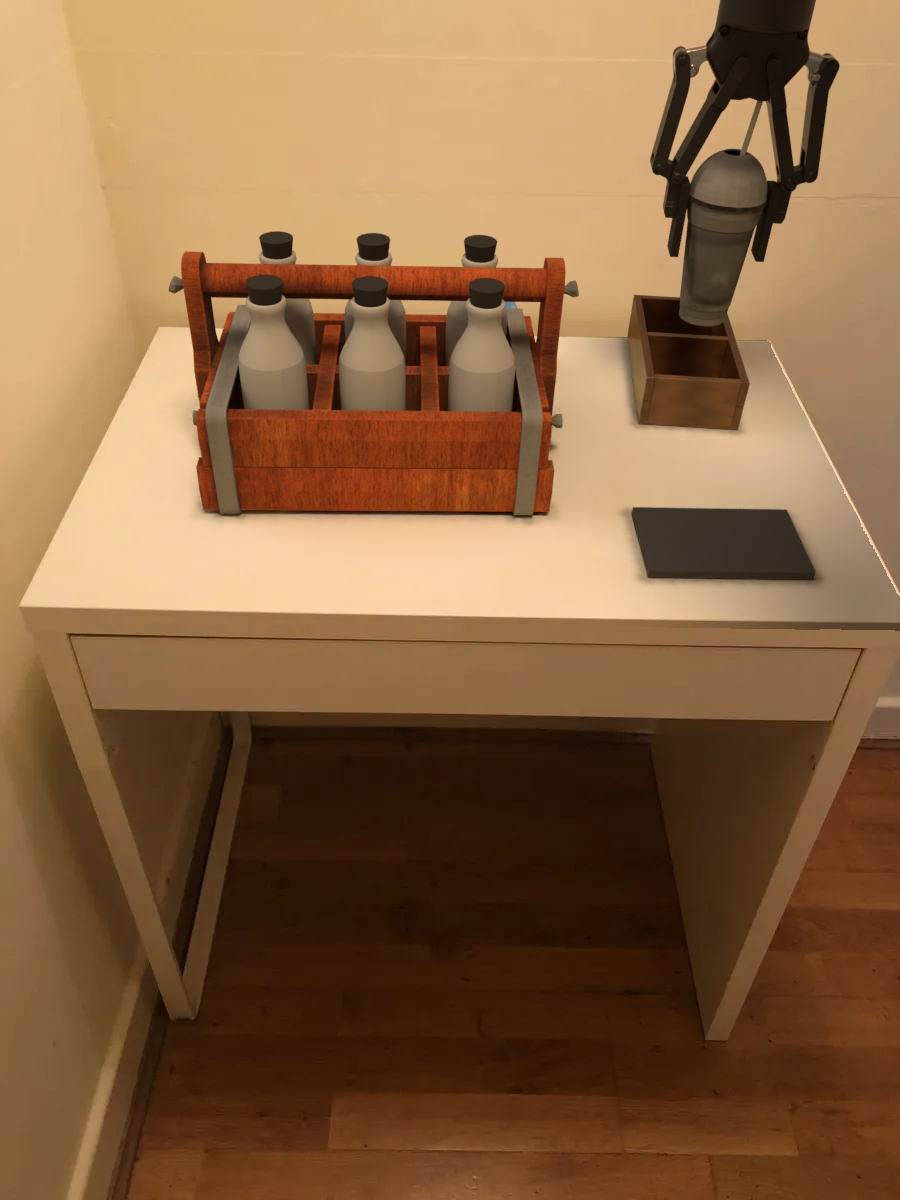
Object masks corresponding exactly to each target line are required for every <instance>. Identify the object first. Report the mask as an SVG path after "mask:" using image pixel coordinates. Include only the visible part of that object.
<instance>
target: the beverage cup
mask: <svg viewBox="0 0 900 1200" xmlns="http://www.w3.org/2000/svg"><path fill="white" fill-rule="evenodd" d="M763 102H764V101H757V100H756V103H755V106H754V109H753V112H752V116H751V119H750V122H749V125H748V128H747V131H746V133H745V137H744V140H743V143H742V146H741V149H740V148H725V149H721V150H719V151H716V152H714V153H713V154H711V155H710V156H708V157H707V158H706V159H705V160H704V161H703V162H702V163H701V164H700V165H699V167H698V168H697V169H696V171H695V172H694V174H693V176H692V178H691V180H690V184H691V189H690V195H689V200H688V206H687V211H686V218H687V224H686V235H685V243H684V244H685V245H684V252H683V253H684V254H683V261H682V262H683V263H682V273H681V282H680V283H681V284H680V292H679V293H680V294H679V297H680V311H679V316H680V317H681V319H683V320H684V321H686V322H688V323H691V324H694V325H698V326H716V325H720V324H721V323H723V322H724V320H725V317H726V314H728V311H729V308H730V307H731V304H732V301H733V299H734V295H735V292H736V289H737V285H738V283H739V279H740V276H741V273H742V271H743V266H744V264H745V261H746V257H747V254H748V252H749V248H750V244H751V241H752V239H753V235H754V233H755V230H756V227H757V224H758V222H759V219H760V217H761V215H762V212H763V209H764V207H765V206H766V204H767V198H766V197H767V181H768V180H767V176H766V172H765V169H764V167H763V165H762V163H761V162H760V161H759V160H758V158H757V157H755V156H754V155H753V154H752V153H751V152H749V151H748V149H749V145H750V143H751V140H752V137H753V133H754V130H755V127H756V125H757V122H758V118H759V115H760V112H761V109H762V106H763Z"/></svg>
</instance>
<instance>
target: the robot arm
mask: <svg viewBox="0 0 900 1200" xmlns="http://www.w3.org/2000/svg"><path fill="white" fill-rule="evenodd" d="M816 2H817V0H719V4H718V10H717V13H716V19H715V26H714V29H713V32H712V34H711V36H710V37H709V39H707V41H706V43H705V45H701V46H695V47H691V48H686V47H684V46H683V45H679V46H676V48H675V49H673V52H672V74H673V77H672V80H671V83H670V87H669V90H668V93H667V94H668V95H667V97H666V102H665V105H664V107H663V108H664V109H663V112H662V116H661V119H660V123H659V127H658V130H657V133H656V137H655V140H654V144H653V147H652V151H651V154H650V157H649V164H650V169H651V171H652V173H653V175H655V176H660V177H663V178H664V179H666V185H665V191H664V195H663V196H664V197H663V202H662V210H663V215H664V218H665V219H671V223H670V228H669V233H668V239H667V245H666V246H667V250H668V254H669V258H679V254H680V250H681V244H682V238H683V233H684V232H683V231H684V226H685V222H686V218H687V206H688V200H689V195H690V189H691V184H690V183H691V180H690V179H689V176H688V175H687V174H688V173H689V171H690V170H691V168H692V166H693V164H694V162H695V161H696V159H697V157H698V155H699V153H700V152H701V150H702V148H703V147H704V145H705V143H706V142H707V140H708V137H709V136H710V134H711V132H712V130H713V129H714V128H715V126H716V124H717V123H718V120H719V119H720V118H721V117H720V116H721V115H722V113H723V112H724V111H725V110H727V107H728V106H729V104H730V102H731V101H742V100H743V101H744V100H747V99H751V100H754V101H756V102H757V101H763V102H765V104H766V108H767V116H768V122H769V131H770V137H771V143H772V151H773V158H774V165H775V173H776V178H777V179H776V180H767V197H766V198H767V204H766V206H765V207H764V209H763V212H762V215H761V217H760V219H759V222H758V224H757V226H756V227H755V230H754V234H753V235H754V236H753V241H752V245H751V247H750V252H751V255H752V256H753V259H754V261H755V262H757V263H764V261H765V258H766V254H767V249H768V245H769V243H770V236H771V234H772V233H771V232H772V229H773V225H774V224H776V225H782V224H783V223H784V221H785V220H786V216H787V212H788V207H789V204H790V201H791V196H792V193H793V192H794V191H795V190H796V189H797V187H798V186H799V185H802V184H813V183H814V182H816V180H817V179H818V177H819V176H818V175H819V170H820V163H821V155H822V154H821V153H822V147H823V140H824V131H825V124H826V115H827V110H828V109H827V108H828V103H829V102H828V101H829V95H830V94H829V93H830V90H831V88H832V86H833V83H834V82H835V79H836V77H837V75H838V73H839V70H840V66H841V65H840V62H839V61H838V59H836V57H835V56H833V54H831V53H830V52H826V53H823V54H821V53H818V52H815V51H811V50H810V46H809V40H808V39H809V32H810V28H811V24H812V19H813V15H814V10H815V7H816ZM705 62H708V63H707V64H708V66H709V67H710V70H711V72H712V74H713V76H714V82H713V83H712V85H711V87H710V88H709V91H708V93H707V96H706V98H705V101H704V102H703V104H702V106H701V107H700V109H699V111H698V113H697V115H696V117H695V118H694V120H693V122H692V123H691V126H690V127H689V129H688V131H687V133H686V134H685V136H684V138H683V140H682V142H681V143H680V146H679V147H678V149H677V151H676V152H675V154H674V156H673V158H672V159H670V155H671V152H672V149H673V146H674V142H675V139H676V135H677V132H678V128H679V126H680V123H681V122H680V121H681V120H682V119H681V118H682V116H683V112H684V108H685V105H686V101H687V99H688V95H689V91H690V87H691V79H693V78H694V77H696V76H697V75H698V74H699V72H700V67H701V65H703V63H705ZM804 66H805V67H806V72H805V78H806V79H807V80H808V82H809V83H808V87H807V95H806V103H805V110H804V120H803V127H802V128H803V129H802V137H801V144H800V152H799V161H798V164H796V165H794V158H793V149H792V141H791V135H790V134H791V133H790V127H789V126H790V125H789V119H788V112H787V109H788V105H787V96H786V89H785V87H786V86H787V85H788V84H789V83H790V82H791V81H792V79H794V77H795V76H796V75H797V74H798V73H799V72H800V71H801V69H803V68H804Z"/></svg>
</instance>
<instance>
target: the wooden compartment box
mask: <svg viewBox="0 0 900 1200" xmlns="http://www.w3.org/2000/svg"><path fill="white" fill-rule="evenodd" d="M679 311H680V296H679V297H678V296H662V295H646V294H633V298H632V305H631V309H630V317H629V323H628V329H627V336H626V340H627V347H628V356H629V362H630V370H631V377H632V385H633V391H634V400H635V407H636V414H637V421H638V425H653V426H665V427H666V426H668V427H684V428H698V429H699V428H700V429H714V430H715V429H716V430H727V431H728V430H730V431H738V430H739V427H740V423H741V420H742V415H743V411H744V408H745V404H746V401H747V395H748V392H749V388H750V385H751V384H750V381H749V377H748V373H747V371H746V368H745V364H744V361H743V358H742V355H741V351H740V349H739V345H738V343H737V340H736V339H737V338H736V337H735V332H734V330H733V326H732V323H731V320H730V317H729V313H727V314H726V317H725V320H724V322H723V323H721V324H720V325H716V326H698V325H694V324H691V323H688V322H686V321H684V320H683V319H681V317H680V316H679Z"/></svg>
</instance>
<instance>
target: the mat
mask: <svg viewBox="0 0 900 1200" xmlns="http://www.w3.org/2000/svg"><path fill="white" fill-rule="evenodd" d="M631 516H632V520H633V523H634V528H635V531H636V535H637V539H638V543H639V547H640V550H641V554H642V559H643V562H644V566H645V570H646V574H647V578H649V579H651V578H653V579H655V578H656V579H722V580H723V579H724V580H725V579H727V580H728V579H730V580H731V579H732V580H735V579H736V580H794V581H795V580H801V581H802V580H804V581H805V580H806V581H807V580H809V581H811V580H812V581H813V580H815V577H816V574H817V572H816V570H815V567H814V565H813V562H812V561H811V558H810V557H809V554H808V552H807V550H806V548H805V546H804V544H803V541H802V539H801V537H800V535H799V532H798V531H797V528H796V526H795V524H794V523H793V520H792V518H791V515H790V514H789V511H788V510H787V509H780V508H779V509H778V508H777V509H773V508H772V509H771V508H770V509H769V508H766V509H765V508H718V507H717V508H715V507H714V508H713V507H712V508H709V507H708V508H707V507H706V508H705V507H652V506H651V507H643V506H638V507H637V506H634V507H632V511H631Z"/></svg>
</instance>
